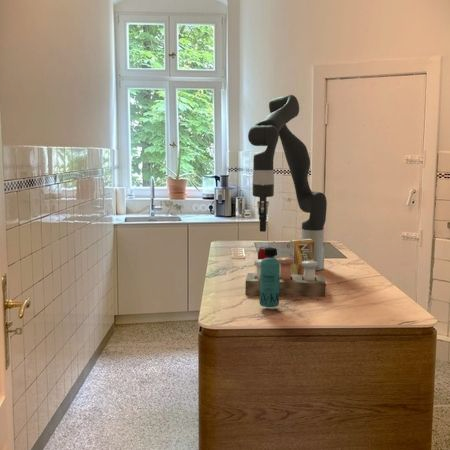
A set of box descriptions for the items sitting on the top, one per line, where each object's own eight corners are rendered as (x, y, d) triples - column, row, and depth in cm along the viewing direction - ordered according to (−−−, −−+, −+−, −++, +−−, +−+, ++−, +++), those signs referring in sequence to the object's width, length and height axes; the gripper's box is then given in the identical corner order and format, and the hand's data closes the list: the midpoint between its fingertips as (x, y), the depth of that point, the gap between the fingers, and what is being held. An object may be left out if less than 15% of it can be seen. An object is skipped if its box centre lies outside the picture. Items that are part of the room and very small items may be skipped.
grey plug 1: (262, 286, 198) (262, 258, 197) (272, 289, 194) (273, 261, 192) (250, 288, 195) (251, 260, 194) (260, 292, 191) (261, 263, 189)
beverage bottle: (257, 306, 175) (258, 246, 172) (277, 306, 176) (278, 246, 173) (260, 312, 169) (261, 250, 166) (281, 312, 169) (282, 250, 166)
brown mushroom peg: (285, 284, 197) (286, 256, 196) (296, 287, 193) (296, 259, 191) (274, 286, 194) (274, 258, 193) (284, 290, 190) (285, 261, 188)
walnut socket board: (245, 294, 189) (245, 280, 189) (247, 286, 201) (247, 273, 200) (325, 297, 186) (326, 283, 186) (323, 288, 198) (323, 275, 197)
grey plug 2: (308, 288, 197) (309, 260, 195) (320, 291, 192) (320, 262, 191) (297, 290, 193) (298, 261, 192) (309, 293, 189) (309, 264, 187)
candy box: (308, 275, 219) (309, 238, 216) (313, 277, 215) (314, 240, 212) (289, 277, 216) (289, 239, 213) (293, 279, 212) (294, 241, 209)
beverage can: (273, 279, 212) (273, 249, 210) (256, 278, 213) (256, 248, 211) (275, 275, 218) (275, 246, 217) (258, 274, 220) (259, 245, 218)
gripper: (253, 181, 196) (253, 228, 198) (251, 184, 183) (251, 234, 185) (274, 181, 195) (273, 228, 198) (273, 184, 182) (273, 234, 185)
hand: (262, 231), depth 191 cm, fingers closed
